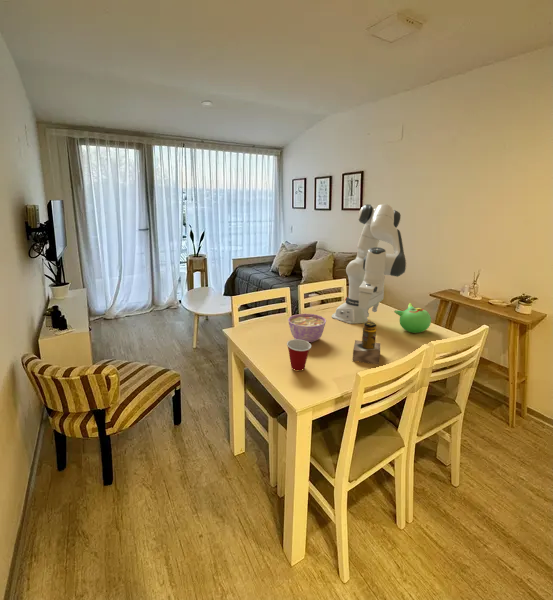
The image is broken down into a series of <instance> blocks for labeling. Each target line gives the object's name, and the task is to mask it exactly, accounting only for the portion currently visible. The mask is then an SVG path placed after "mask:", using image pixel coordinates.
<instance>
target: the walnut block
mask: <svg viewBox="0 0 553 600" xmlns="http://www.w3.org/2000/svg"><path fill="white" fill-rule="evenodd" d="M355 344H362V340H357V339H355V340H354V345H353V350H352V360H353V361H352V362H355V361H359V362H358V363H363V362H364V364H371V365H376V366H377V365H379V366H380V360H381V343H380V342H375V347H377V348H378V349H375V350H366V351H362V350H360V349H359V348H358V347H357V346H356V345H355Z"/></svg>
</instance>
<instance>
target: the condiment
mask: <svg viewBox="0 0 553 600" xmlns="http://www.w3.org/2000/svg"><path fill="white" fill-rule="evenodd" d="M363 324H364V325H363V328H362V337H361V338H362V339H361V341H362V344H355V343H354V344H355V345H356V346H357V347H358V348H359V349H360V350H362V351H366V350H375V349H378V348H377V347H375V343H376V339H377V328H376V327H377V324H376V322H373V321H367V322H365V323H363Z"/></svg>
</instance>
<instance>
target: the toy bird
mask: <svg viewBox="0 0 553 600" xmlns="http://www.w3.org/2000/svg"><path fill="white" fill-rule="evenodd" d="M393 311H394V313H395V314H396V315H398V317H399V325H400V326H401V328H402V329H404V330H405V331H406V332H408V333H412V334H413V333H414V334H417V333H422V332H424V331H427V330H428V329H429V327H430V326H431V323H432V318H431V315H430V314H429V312H428V311H427V310H426V309H424V308H420V307H414V306H413V305H412V303H411V302H409V303H408V306H407V308H406V309H405V310H396V309H395V310H393Z"/></svg>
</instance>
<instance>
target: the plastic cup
mask: <svg viewBox="0 0 553 600" xmlns="http://www.w3.org/2000/svg"><path fill="white" fill-rule="evenodd" d="M286 346H287V349H288V354H289V360H290V361H289V362H290V366H291V369H292V368H293V369H295V370H302V369H304V370H305V367H306V363H307V361H308V360H307V359H308V355H309V351H310V349H312V344H311V343H309V342H307V341H304V340H299V339H295V338H294V339H290V340H288V341H287V342H286ZM293 369H292V370H293Z"/></svg>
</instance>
